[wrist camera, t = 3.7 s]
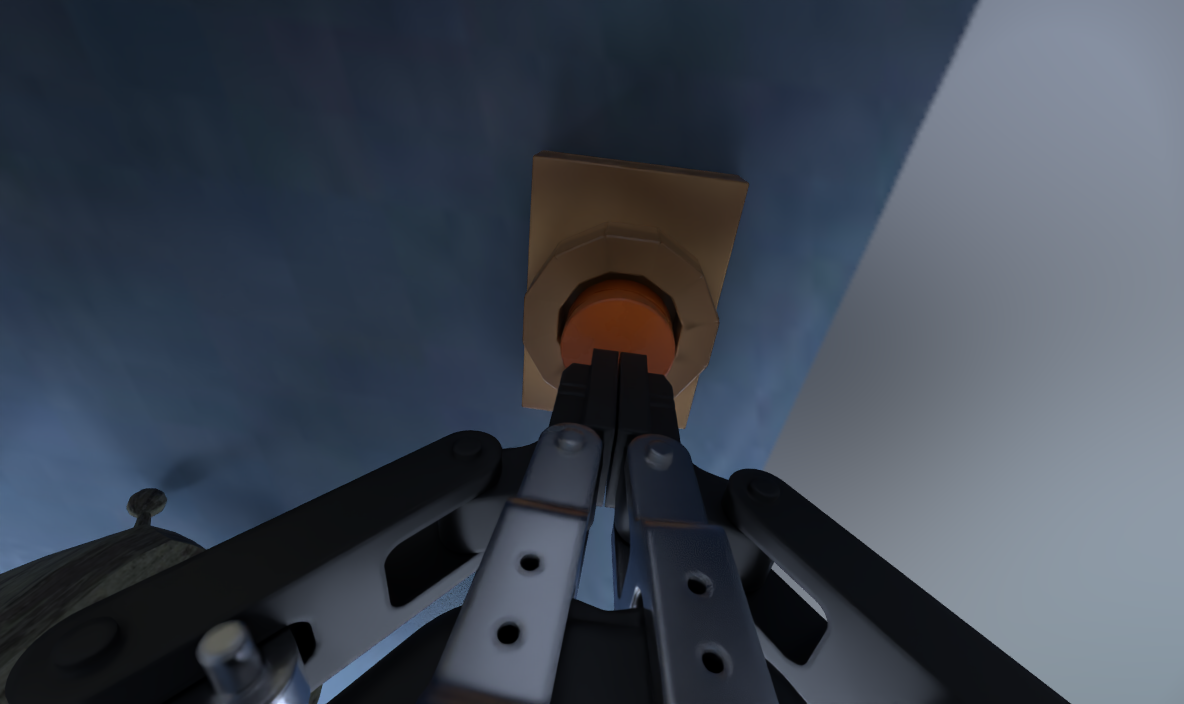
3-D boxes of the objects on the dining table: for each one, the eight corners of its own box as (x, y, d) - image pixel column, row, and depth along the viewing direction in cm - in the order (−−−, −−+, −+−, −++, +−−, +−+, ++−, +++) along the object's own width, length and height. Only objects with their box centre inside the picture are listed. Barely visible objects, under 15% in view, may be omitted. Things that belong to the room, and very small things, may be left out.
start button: (571, 271, 15) (564, 291, 14) (680, 285, 15) (686, 306, 14) (562, 365, 17) (555, 392, 15) (660, 378, 17) (663, 406, 15)
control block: (541, 149, 16) (521, 161, 13) (739, 175, 16) (764, 193, 13) (529, 385, 21) (511, 434, 18) (681, 406, 21) (689, 458, 18)
